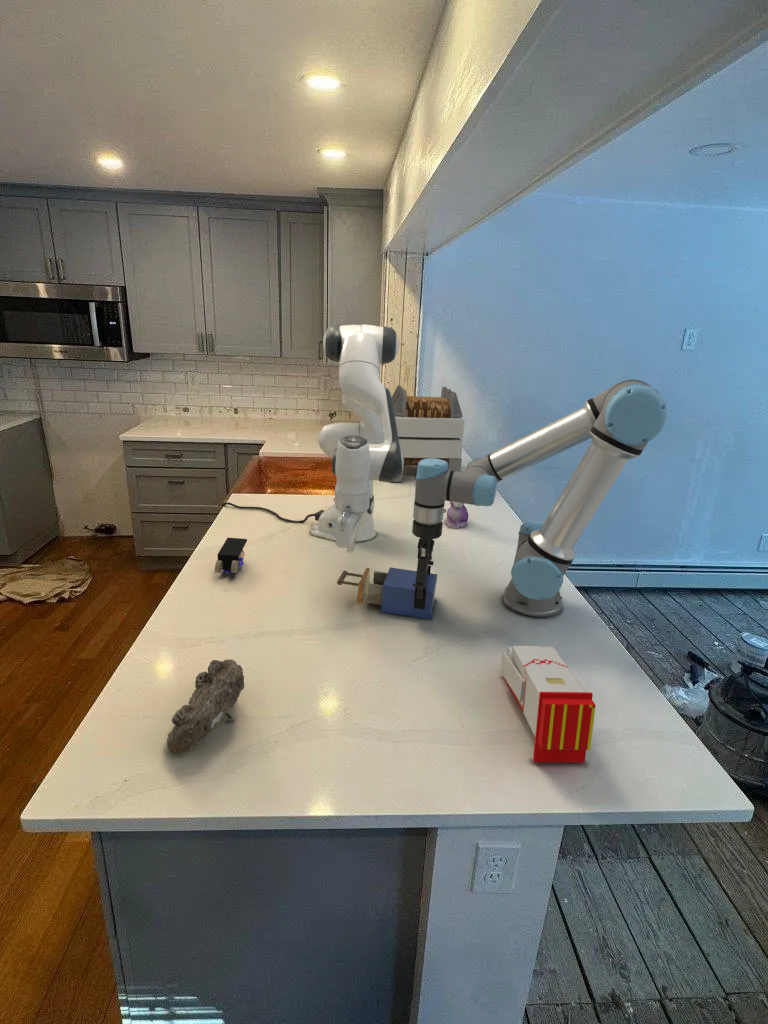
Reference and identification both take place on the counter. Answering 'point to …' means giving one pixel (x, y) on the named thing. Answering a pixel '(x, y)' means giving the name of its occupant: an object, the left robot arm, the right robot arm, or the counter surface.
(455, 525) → the figurine
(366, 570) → the wooden drawer
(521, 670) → the toy
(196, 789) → the counter surface
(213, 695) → the fossil
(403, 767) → the counter surface
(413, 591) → the blue square-sided box
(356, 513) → the left robot arm
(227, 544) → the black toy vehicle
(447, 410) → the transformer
